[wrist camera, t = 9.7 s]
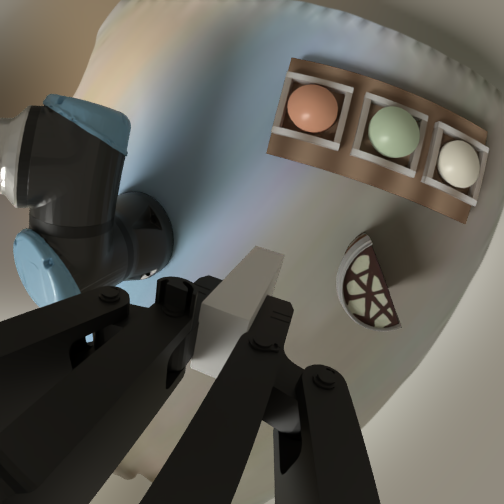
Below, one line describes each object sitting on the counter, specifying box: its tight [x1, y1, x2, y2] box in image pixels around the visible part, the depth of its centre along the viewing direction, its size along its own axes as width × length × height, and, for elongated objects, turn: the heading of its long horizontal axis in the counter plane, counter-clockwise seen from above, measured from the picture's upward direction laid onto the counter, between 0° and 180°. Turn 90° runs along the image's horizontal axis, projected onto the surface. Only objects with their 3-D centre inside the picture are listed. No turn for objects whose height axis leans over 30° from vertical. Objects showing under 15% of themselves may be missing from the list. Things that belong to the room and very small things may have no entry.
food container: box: [336, 232, 402, 331], centre depth 35 cm, size 12×6×10 cm, turn 28°
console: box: [267, 58, 489, 224], centre depth 31 cm, size 29×14×5 cm, turn 76°
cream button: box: [436, 140, 480, 188], centre depth 28 cm, size 6×6×2 cm
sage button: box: [368, 106, 420, 158], centre depth 28 cm, size 6×6×2 cm
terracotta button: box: [287, 85, 338, 134], centre depth 31 cm, size 6×6×2 cm
